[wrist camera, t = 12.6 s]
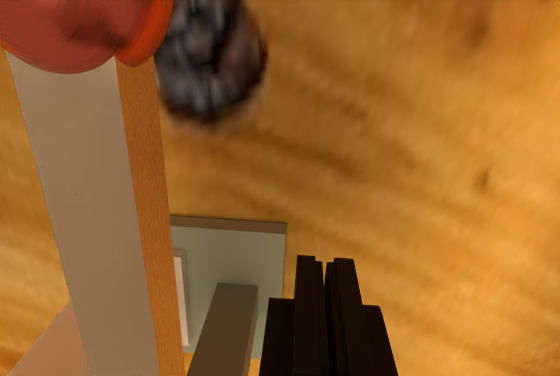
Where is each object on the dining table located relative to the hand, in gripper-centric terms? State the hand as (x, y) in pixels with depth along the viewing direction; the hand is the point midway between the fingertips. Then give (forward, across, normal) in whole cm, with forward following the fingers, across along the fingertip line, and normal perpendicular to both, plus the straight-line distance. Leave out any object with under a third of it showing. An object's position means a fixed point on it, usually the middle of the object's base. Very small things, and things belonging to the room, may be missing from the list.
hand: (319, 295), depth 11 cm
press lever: (0, +5, +3) cm, 6 cm away
